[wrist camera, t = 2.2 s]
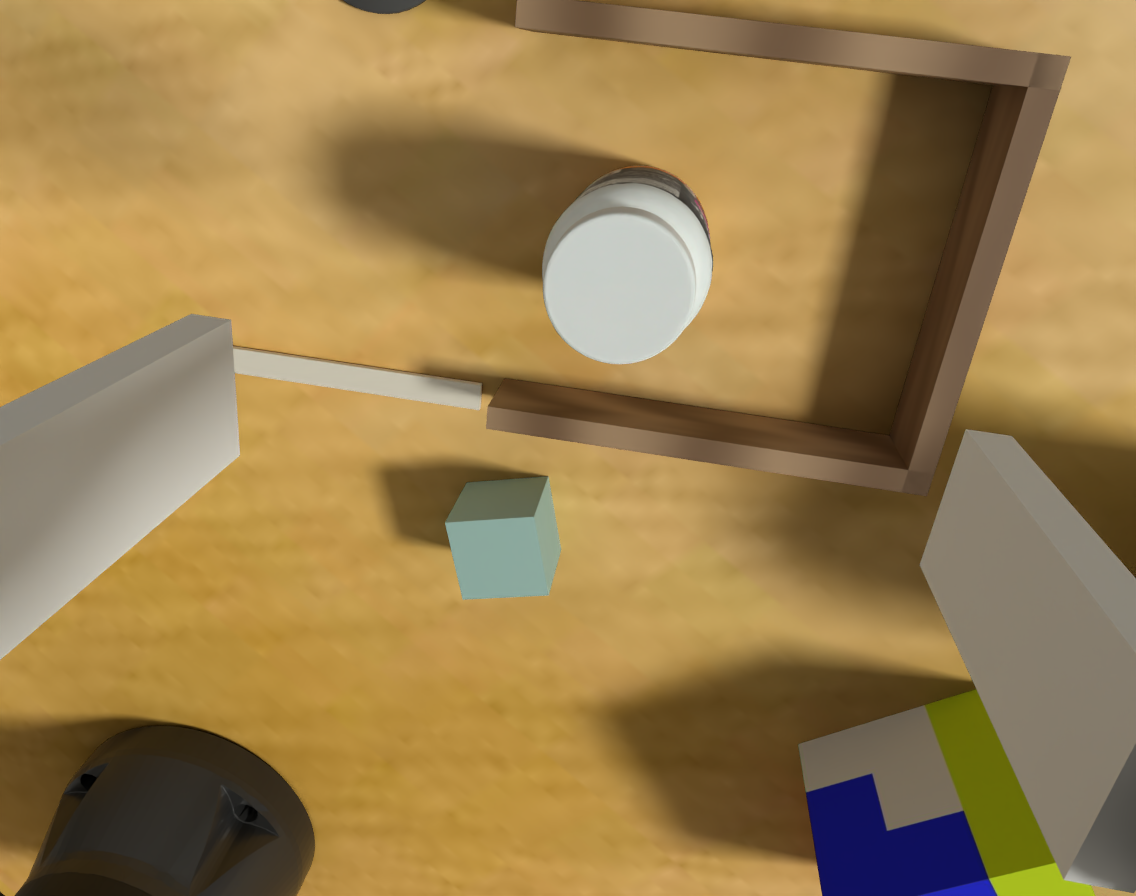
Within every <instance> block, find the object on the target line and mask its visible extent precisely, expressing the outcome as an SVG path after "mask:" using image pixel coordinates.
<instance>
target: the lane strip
mask: <svg viewBox="0 0 1136 896" xmlns="http://www.w3.org/2000/svg"><path fill="white" fill-rule="evenodd" d="M233 356H234V371H235V373H238V374H245V375H251V376H258V377H264V378H271V379H278V380H284V381H291V382H297V383H304V384H310V385H317V386H324V387H330V388H337V389H343V390H350V391H357V392H363V393H370V394H376V395H383V396H390V397H396V398H403V399H409V400H416V401H422V402H429V403H436V404H442V405H449V406H455V407H462V408H469V409H475V410H480V408H481V396H482V383H477V382H471V381H464V380H457V379H451V378H444V377H437V376H431V375H424V374H417V373H411V372H404V371H397V370H390V369H384V368H377V367H370V366H364V365H357V364H350V363H344V362H337V361H330V360H323V359H317V358H310V357H303V356H297V355H290V354H283V353H277V352H270V351H263V350H257V349H250V348H243V347H236V346H233Z"/></svg>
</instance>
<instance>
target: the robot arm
mask: <svg viewBox="0 0 1136 896" xmlns="http://www.w3.org/2000/svg"><path fill="white" fill-rule="evenodd" d="M238 456H240V447H239V432H238V417H237V402H236V387H235V371H234V356H233V341H232V326H231V320H229V319H222V318H215V317H209V316H202V315H195V314H190V315H188V316H186V317H184V318H182V319H180V320H178V321H176V322H174V323H172V324H170V325H168V326H165V327H163V328H161V329H159V330H157V331H155V332H153V333H151V334H149V335H147V336H145V337H143V338H141V339H139V340H137V341H135V342H133V343H131V344H129V345H127V346H125V347H123V348H120V349H118V350H116V351H114V352H112V353H110V354H108V355H106V356H104V357H102V358H100V359H98V360H96V361H94V362H92V363H90V364H88V365H86V366H84V367H82V368H80V369H77V370H75V371H73V372H71V373H69V374H67V375H65V376H63V377H61V378H59V379H57V380H55V381H53V382H51V383H49V384H47V385H45V386H43V387H41V388H39V389H37V390H35V391H32V392H30V393H28V394H26V395H24V396H22V397H20V398H18V399H16V400H14V401H12V402H10V403H8V404H6V405H4V406H2V407H0V660H1V659H2V658H3V657H4V656H5V655H6V654H8V653H9V652H10V651H11V650H12V649H13V648H15V647H16V646H17V645H18V644H19V643H20V642H22V641H23V640H24V639H25V638H26V637H28V636H29V635H30V634H31V633H32V632H33V631H35V630H36V629H37V628H38V627H39V626H40V625H42V624H43V623H44V622H45V621H46V620H47V619H49V618H50V617H51V616H52V615H53V614H54V613H56V612H57V611H58V610H59V609H60V608H61V607H63V606H64V605H65V604H66V603H67V602H69V601H70V600H71V599H72V598H73V597H74V596H76V595H77V594H78V593H79V592H80V591H81V590H83V589H84V588H85V587H86V586H87V585H88V584H90V583H91V582H92V581H93V580H94V579H95V578H97V577H98V576H99V575H100V574H101V573H102V572H104V571H105V570H106V569H107V568H108V567H110V566H111V565H112V564H113V563H114V562H115V561H117V560H118V559H119V558H120V557H121V556H122V555H124V554H125V553H126V552H127V551H128V550H129V549H131V548H132V547H133V546H134V545H135V544H136V543H138V542H139V541H140V540H141V539H142V538H144V537H145V536H146V535H147V534H148V533H149V532H151V531H152V530H153V529H154V528H155V527H156V526H158V525H159V524H160V523H161V522H162V521H163V520H165V519H166V518H167V517H168V516H169V515H170V514H172V513H173V512H174V511H175V510H176V509H177V508H179V507H180V506H181V505H182V504H183V503H185V502H186V501H187V500H188V499H189V498H190V497H192V496H193V495H194V494H195V493H196V492H197V491H199V490H200V489H201V488H202V487H203V486H204V485H206V484H207V483H208V482H209V481H210V480H211V479H213V478H214V477H215V476H216V475H217V474H218V473H220V472H221V471H222V470H223V469H224V468H226V467H227V466H228V465H229V464H230V463H231V462H233V461H234V460H235V459H236V458H237V457H238ZM920 567H921V569H922V571H923V574H924V576H925V578H926V580H927V582H928V584H929V587H930V589H931V591H932V593H933V595H934V598H935V600H936V602H937V604H938V606H939V609H940V611H941V613H942V615H943V617H944V619H945V622H946V624H947V626H948V628H949V630H950V633H951V635H952V637H953V639H954V641H955V643H956V646H957V648H958V650H959V652H960V654H961V657H962V659H963V661H964V663H965V665H966V668H967V670H968V672H969V674H970V676H971V678H972V681H973V683H974V685H975V687H976V689H977V692H978V694H979V696H980V698H981V700H982V702H983V705H984V707H985V709H986V711H987V713H988V716H989V718H990V720H991V722H992V724H993V727H994V729H995V731H996V733H997V735H998V737H999V740H1000V742H1001V744H1002V746H1003V748H1004V751H1005V753H1006V755H1007V757H1008V759H1009V761H1010V764H1011V766H1012V768H1013V770H1014V772H1015V775H1016V777H1017V779H1018V781H1019V783H1020V786H1021V788H1022V790H1023V792H1024V794H1025V796H1026V799H1027V801H1028V803H1029V805H1030V807H1031V810H1032V812H1033V814H1034V816H1035V818H1036V820H1037V823H1038V825H1039V827H1040V829H1041V831H1042V834H1043V836H1044V838H1045V840H1046V842H1047V845H1048V847H1049V849H1050V851H1051V853H1052V855H1053V858H1054V860H1055V862H1056V864H1057V866H1058V869H1059V871H1060V873H1061V875H1062V877H1063V879H1064V880H1067V881H1072V882H1077V883H1083V884H1088V885H1093V886H1099V887H1104V888H1109V889H1115V890H1120V891H1125V892H1131V893H1134V892H1135V891H1136V578H1135V577H1134V576H1133V575H1132V574H1131V572H1130V571H1129V570H1128V569H1127V568H1126V567H1125V566H1124V564H1123V563H1122V562H1121V561H1120V560H1119V559H1118V557H1117V556H1116V555H1115V554H1114V553H1113V552H1112V551H1111V549H1110V548H1109V547H1108V546H1107V545H1106V544H1105V543H1104V541H1103V540H1102V539H1101V538H1100V537H1099V536H1098V534H1097V533H1096V532H1095V531H1094V530H1093V529H1092V528H1091V526H1090V525H1089V524H1088V523H1087V522H1086V521H1085V520H1084V518H1083V517H1082V516H1081V515H1080V514H1079V513H1078V511H1077V510H1076V509H1075V508H1074V507H1073V506H1072V505H1071V503H1070V502H1069V501H1068V500H1067V499H1066V498H1065V497H1064V495H1063V494H1062V493H1061V492H1060V491H1059V490H1058V488H1057V487H1056V486H1055V485H1054V484H1053V483H1052V482H1051V480H1050V479H1049V478H1048V477H1047V476H1046V475H1045V474H1044V472H1043V471H1042V470H1041V469H1040V468H1039V467H1038V465H1037V464H1036V463H1035V462H1034V461H1033V460H1032V459H1031V457H1030V456H1029V455H1028V454H1027V453H1026V452H1025V451H1024V449H1023V448H1022V447H1021V446H1020V445H1019V444H1018V442H1017V441H1016V440H1015V439H1014V438H1013V437H1012V436H1009V435H1002V434H995V433H988V432H982V431H975V430H968V429H966V430H965V433H964V436H963V439H962V442H961V445H960V447H959V450H958V453H957V456H956V459H955V462H954V465H953V468H952V471H951V474H950V477H949V480H948V483H947V486H946V489H945V492H944V495H943V498H942V500H941V503H940V506H939V509H938V512H937V515H936V518H935V521H934V524H933V527H932V530H931V533H930V536H929V539H928V542H927V545H926V548H925V551H924V554H923V556H922V559H921V562H920ZM314 851H315V840H314V832H313V828H312V824H311V821H310V819H309V816H308V814H307V812H306V810H305V808H304V806H303V804H302V802H301V801H300V799H299V798H298V796H297V795H296V794H295V792H294V791H293V790H292V788H291V787H290V786H289V785H288V784H287V782H286V781H285V780H284V779H283V778H282V777H281V776H280V775H279V774H278V773H276V772H275V771H274V770H273V769H272V768H271V767H269V766H268V765H267V764H266V763H264V762H263V761H262V760H260V759H259V758H257V757H256V756H254V755H253V754H251V753H250V752H248V751H246V750H245V749H243V748H241V747H239V746H237V745H235V744H233V743H231V742H229V741H227V740H224V739H222V738H219V737H217V736H214V735H211V734H208V733H205V732H201V731H197V730H193V729H188V728H182V727H174V726H148V727H140V728H135V729H131V730H127V731H125V732H122V733H119V734H117V735H115V736H113V737H111V738H110V739H108V740H107V741H105V742H104V743H103V744H101V745H100V746H99V747H98V748H97V749H96V750H95V751H94V753H93V754H92V755H91V756H90V757H89V758H88V760H87V761H86V762H85V763H84V764H83V765H82V766H81V768H80V769H79V770H78V771H77V772H76V773H75V775H74V776H73V777H72V779H71V780H70V782H69V784H68V785H67V787H66V789H65V791H64V793H63V796H62V798H61V800H60V803H59V805H58V808H57V810H56V812H55V815H54V817H53V820H52V822H51V824H50V827H49V829H48V832H47V834H46V836H45V839H44V841H43V843H42V846H41V848H40V851H39V853H38V855H37V858H36V860H35V863H34V865H33V867H32V870H31V872H30V875H29V877H28V879H27V880H26V882H25V883H24V884H23V886H22V887H21V888H20V890H19V891H18V892H17V893H16V895H15V896H297V894H298V892H299V890H300V888H301V886H302V884H303V881H304V879H305V877H306V875H307V873H308V871H309V869H310V867H311V864H312V861H313V857H314ZM0 896H5V895H3V894H2V893H1V892H0Z"/></svg>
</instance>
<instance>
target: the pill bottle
mask: <svg viewBox="0 0 1136 896" xmlns="http://www.w3.org/2000/svg"><path fill="white" fill-rule="evenodd" d="M712 270H713V255H712V250H711V246H710V234H709V228H708V223H707V219H706V215H705V212H704V210H703V207H702V205H701V203H700V201H699V199H698V198H697V196H696V195H695V194H694V192H693V191H692V190H691V189H690V187H689V186H688V185H687V184H685V183H684V182H683V181H682V180H681V179H679V178H678V177H676V176H675V175H673V174H671V173H669V172H667V171H665V170H662V169H659V168H656V167H650V166H629V167H624V168H620V169H617V170H614V171H611V172H609V173H607V174H605V175H603V176H601V177H600V178H598V179H597V180H595V181H594V182H593V183H592V184H591V185H589V186H588V187H587V188H586V189H585V190H584V191H583V192H582V193H581V194H580V195H579V196H578V197H577V198H576V200H575V201H574V202H573V203H572V204H571V205H570V206H569V207H568V208H567V209H566V210H565V211H564V212H563V213H562V215H561V216H560V217H559V219H558V220H557V221H556V223H555V225H554V226H553V228H552V230H551V232H550V234H549V237H548V239H547V242H546V246H545V250H544V255H543V263H542V277H543V297H544V303H545V307H546V310H547V313H548V316H549V318H550V321H551V323H552V325H553V326H554V328H555V330H556V331H557V332H558V334H559V335H560V336H561V338H562V339H563V340H564V341H565V342H566V343H567V344H568V345H569V346H571V347H572V348H573V349H575V350H576V351H577V352H579V353H581V354H583V355H584V356H586V357H589V358H591V359H594V360H596V361H600V362H604V363H609V364H630V363H635V362H639V361H643V360H646V359H648V358H651V357H653V356H655V355H657V354H659V353H660V352H662V351H663V350H665V349H666V348H667V347H668V346H669V345H671V344H672V343H673V342H674V341H675V340H676V339H677V338H678V337H679V335H680V334H681V333H682V331H683V330H684V329H685V328H686V327H687V326H688V325H689V324H690V323H691V321H692V320H693V319H694V318H695V316H696V315H697V314H698V312H699V310H700V309H701V307H702V305H703V303H704V301H705V298H706V296H707V293H708V290H709V287H710V284H711V278H712Z"/></svg>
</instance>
